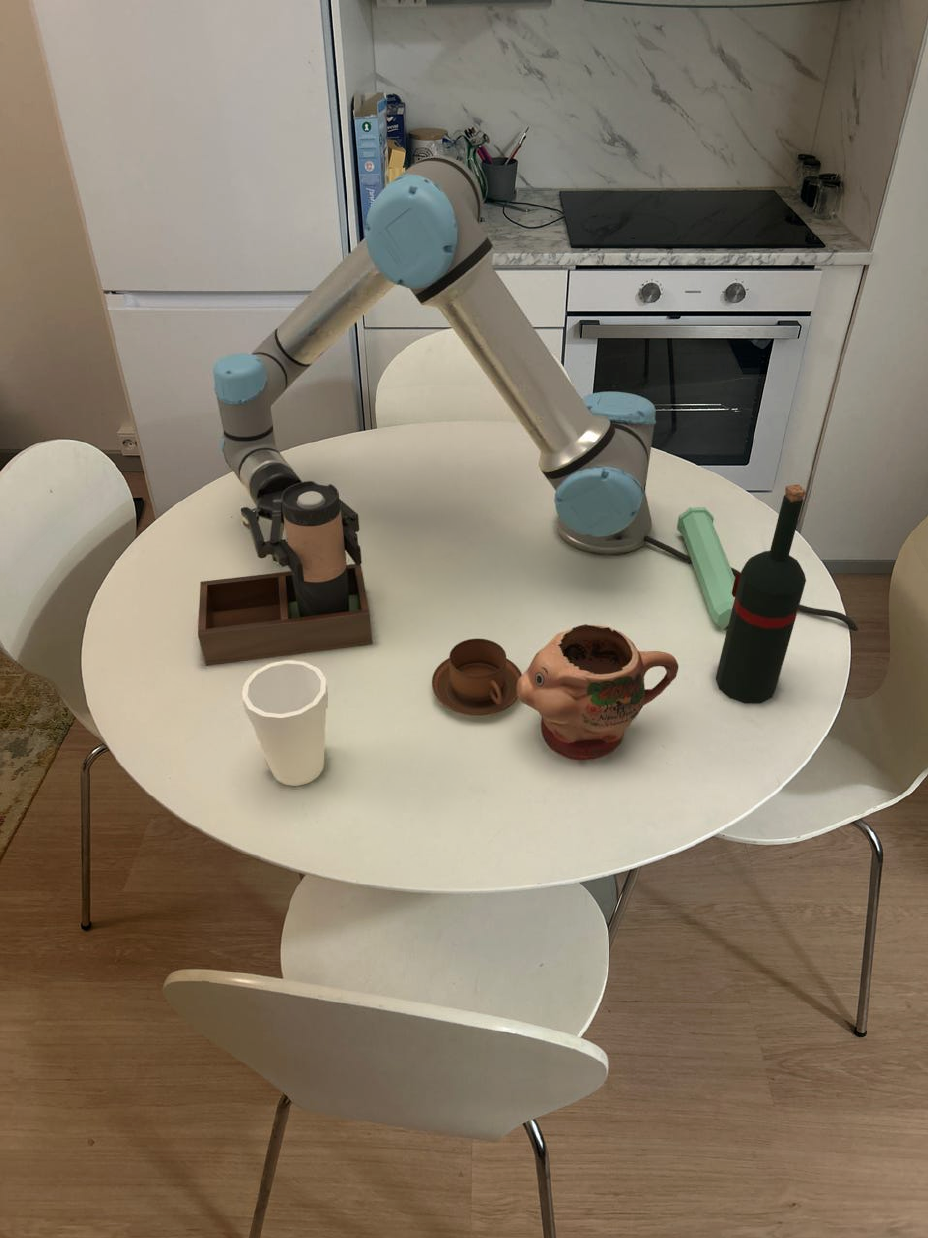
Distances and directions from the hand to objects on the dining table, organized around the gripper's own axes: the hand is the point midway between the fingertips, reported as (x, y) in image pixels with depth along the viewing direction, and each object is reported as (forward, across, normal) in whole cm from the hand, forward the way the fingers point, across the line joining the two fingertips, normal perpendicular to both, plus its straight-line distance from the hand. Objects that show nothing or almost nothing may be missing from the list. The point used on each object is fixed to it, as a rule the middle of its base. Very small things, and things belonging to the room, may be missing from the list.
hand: (329, 564), depth 121 cm
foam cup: (+19, +13, -14) cm, 27 cm away
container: (+14, -55, -14) cm, 59 cm away
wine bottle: (+33, -45, -13) cm, 57 cm away
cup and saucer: (+18, -12, -14) cm, 26 cm away
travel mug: (-5, 0, -12) cm, 13 cm away
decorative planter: (+31, -22, -14) cm, 40 cm away
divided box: (-6, +5, -14) cm, 16 cm away
